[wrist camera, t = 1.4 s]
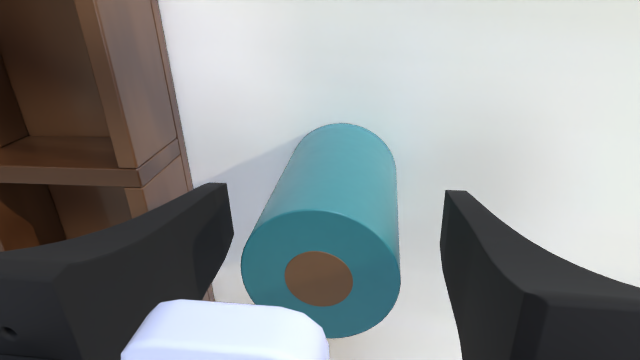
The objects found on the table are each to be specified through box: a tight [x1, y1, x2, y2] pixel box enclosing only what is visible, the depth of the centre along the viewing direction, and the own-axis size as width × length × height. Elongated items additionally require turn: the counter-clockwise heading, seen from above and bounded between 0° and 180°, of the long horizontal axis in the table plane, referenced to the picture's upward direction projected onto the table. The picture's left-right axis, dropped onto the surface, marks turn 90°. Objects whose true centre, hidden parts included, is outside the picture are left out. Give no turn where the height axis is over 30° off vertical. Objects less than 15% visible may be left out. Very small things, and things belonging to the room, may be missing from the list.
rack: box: [0, 0, 214, 302], centre depth 17 cm, size 20×7×4 cm, turn 2°
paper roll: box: [241, 123, 401, 338], centre depth 14 cm, size 4×4×6 cm
